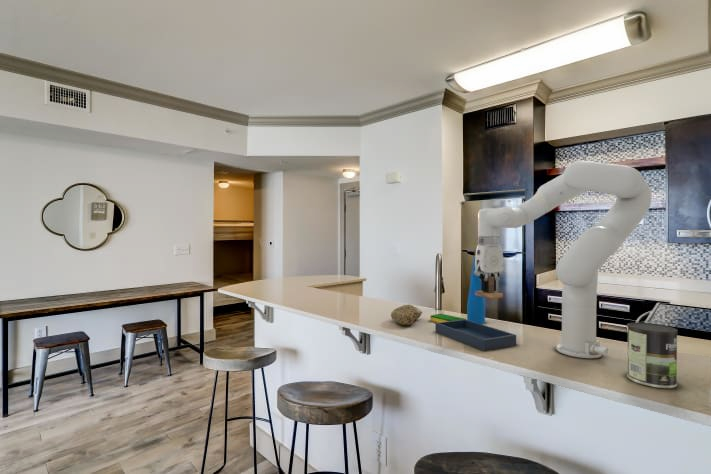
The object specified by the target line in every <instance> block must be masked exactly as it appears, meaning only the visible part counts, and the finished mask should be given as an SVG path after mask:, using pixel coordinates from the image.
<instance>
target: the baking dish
mask: <svg viewBox="0 0 711 474" xmlns="http://www.w3.org/2000/svg"><path fill="white" fill-rule="evenodd" d="M465 319H466V318H464V319H463V320H455V321H448V322H440V323H437V322H435V333H436V334H438V335H441V336H444V337H447V338H449V339H452V340H455V341H457V342H460V343H462V344H465V345H467V346H469V347H472V348H476V349H478V350H481V351H484V352H487V351H492V350H497V349H503V348H508V347H514V346H517V334H514V333H511V332H508V331H505V330H501V329H498V328H495V327H491V326H488V325H485V324H479V323H475V322H472V321H469V320H467V319H466V320H465Z"/></svg>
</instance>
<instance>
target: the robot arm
mask: <svg viewBox="0 0 711 474" xmlns="http://www.w3.org/2000/svg"><path fill="white" fill-rule="evenodd" d="M586 192H594V193H600V194H607V195H611V196H615V197H616V200H615V203H614V204H613V205H612V207H610V208H609V210H608V211H607V212H606V213H605V214H604V216H603V217H602V218H601V220H599V222H598V223H597V224H596V225H595V226H591V227H589V228H587V229H586V230H585V231H583V232H582V233H581V234H580V235H579V236H578V238H576V240H575V241H574V242H573V244H572V245H571V246H570V247H569V248H568V250H567V251H566V252H565V253H564V254H563V256H562V257H561V258H560V259H559V261H558V262H557V264H556V268H555V274H556V277H557V279H558V280H559V281H560V282H561V283H562V288H561V289H562V291H561V343H558V344H557V345H555V346H556V347H555V349H556V351H557V352H558V353H561V354H563V355H566V356H569V357H573V358H579V359H599V358H601V357H603V356H607V355H608V352H609V348H608V347H605V346H601V342H600V340H597V301H598V298H597V297H598V295H597V294H598V292H597V291H598V281H599V280H598V279H599V270H600V269H601V267H602V266H604V264H605V263H606V262H607V261H608V260H609V258H610V257H611V256H613V255H614V254H616V253H617V251H618V250H619V248H620V247H621V246H622V244H624V242H625V241H626V240H627V239H628V237H629V236H630V235H631V234H632V233H633V232H634V230H635V229H636V228H637V227H638V226H639V224H640V223H641V222H642V221H643V219H644V218H645V217H646V215H647V214H648V212H649V210H650V207H651V205H652V204H651V203H652V191H651V189H650V187H649V184H648V183H647V181H646V180H645V178H644V176H643V175H642V174H641V172H640V171H639V170H638V169H636V168H635V167H631V166H629V165H623V164H614V163H606V162H605V163H604V162H597V161H588V160H577V161H573V162H572V163H569V164H568V166H566V167H565V169H564V170H563V173H562V174H560V175H558V176H556V177H555V178H553V179H551V180H549V181H547V182H546V183H544V184H542V185H540V186H539V188H537V191H536V192H535V194H533V196H532V197H531V198H529V199H527V200H526V201H524V202H522V203H520V204H519V205H516V206H502V207H495V208H494V207H487V208H486V207H485V208H480V209H479V210H478V212H477V236H478V237H477V238H476V243H477V245H476V250H475V252H476V254H475V256H474V257H475V271H474V274H475V275H477V276H478V277H479V278H480V280H481V290H482V291H485V292H488V291H489V281H487V279H488V276H494V292H497V281H498V280H499V277H500V276H501V274H503V273H504V269H505V268H504V264H505V263H504V254H503V248H502V245H501V244H500V228H505V229H517V228H521V227H523V226H525V225H527V224H529V223H531V222H533V221H535V220H537V219H539V218H540V217H542V216H544V215H545V214H547V213H549V212H551V211H552V210H553V209H555V208H557V207H559V206H560V205H563V204H564V203H566V202H568V201H571V200H573V199H574V198H577V197H578V196H580V195H582V194H584V193H586Z"/></svg>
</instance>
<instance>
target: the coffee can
mask: <svg viewBox="0 0 711 474" xmlns="http://www.w3.org/2000/svg"><path fill="white" fill-rule="evenodd" d="M626 326H627V375H626V377H627V378H628V379H629V380H630V381H632V382H634V383H637V384H639V385H643V386H647V387H651V388H657V389H674V388H675V389H676V388H677V387H678V384H677V378H678V377H677V376H678V375H677V374H678V367H677V366H678V333H679V330H678V329H677V328H674V327H672V326H669V325H664V324H659V323H651V322H639V321H637V322H629V323H627V324H626Z"/></svg>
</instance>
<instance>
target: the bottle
mask: <svg viewBox="0 0 711 474" xmlns="http://www.w3.org/2000/svg"><path fill="white" fill-rule="evenodd" d="M473 255H476V251H473ZM474 271H475V256H474V257H473V263H472V270H471V277H470V283H469V289H468V297H467V304H466V320H469V321H472V322H475V323H479V324H482V325H484V324H485V323H486V304H485V297H483V296H478V295H475V291H481V280H480V278H479V277H478V276H477V275H475V274H474Z"/></svg>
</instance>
